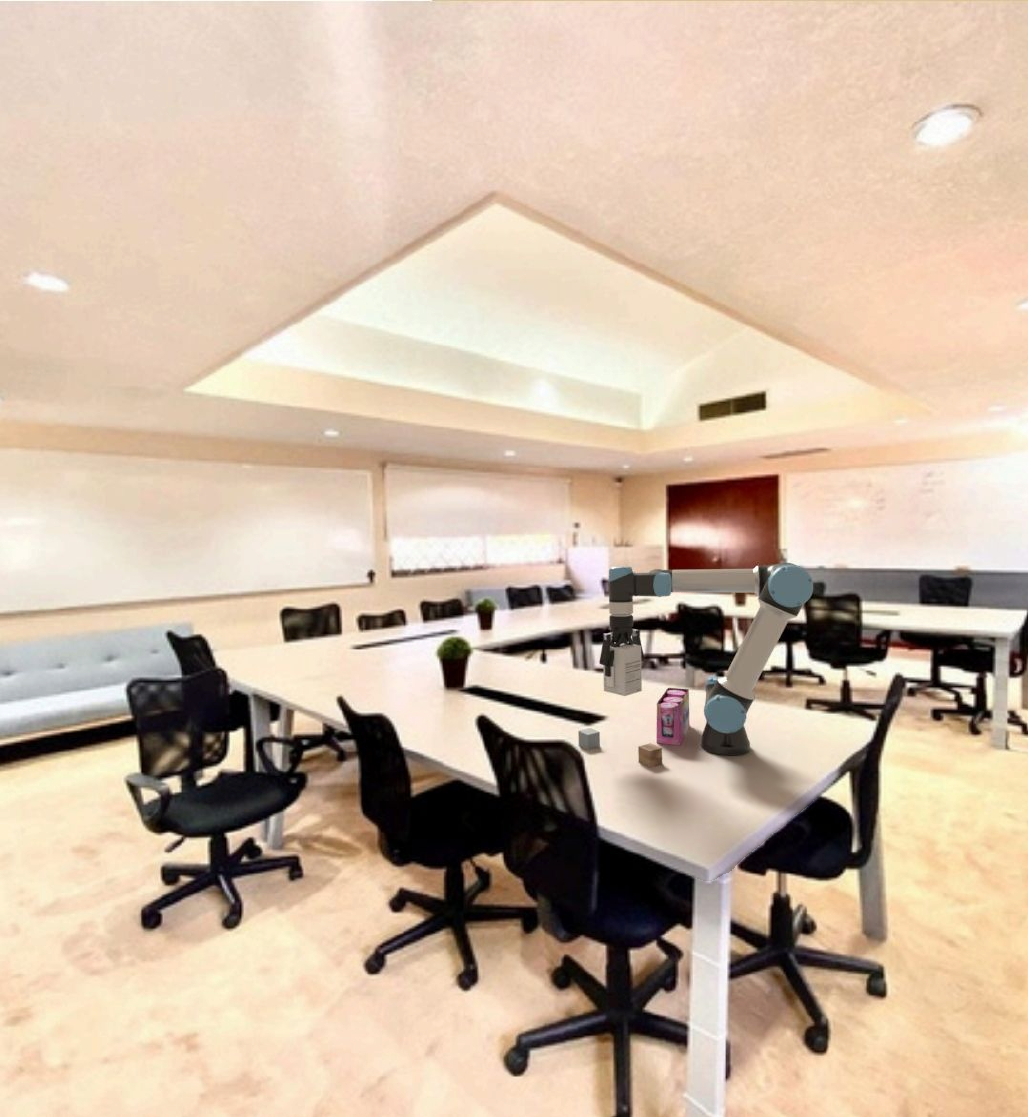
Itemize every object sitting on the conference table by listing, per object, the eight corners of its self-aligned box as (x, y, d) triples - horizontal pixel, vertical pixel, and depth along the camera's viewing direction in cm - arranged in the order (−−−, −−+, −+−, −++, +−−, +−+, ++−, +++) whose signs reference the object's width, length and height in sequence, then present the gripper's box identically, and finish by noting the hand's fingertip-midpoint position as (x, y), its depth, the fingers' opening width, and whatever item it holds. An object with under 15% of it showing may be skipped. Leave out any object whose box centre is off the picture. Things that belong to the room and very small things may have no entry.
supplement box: (602, 691, 193) (601, 645, 193) (620, 686, 199) (619, 641, 199) (624, 696, 186) (623, 649, 186) (642, 691, 192) (641, 645, 192)
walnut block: (650, 759, 188) (650, 743, 188) (662, 763, 184) (661, 747, 184) (638, 762, 186) (638, 746, 185) (650, 767, 181) (649, 751, 181)
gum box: (679, 747, 197) (678, 706, 197) (655, 744, 200) (654, 704, 200) (690, 725, 219) (689, 689, 218) (667, 723, 222) (667, 687, 222)
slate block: (590, 742, 204) (590, 728, 204) (599, 746, 200) (599, 732, 200) (578, 745, 202) (578, 730, 201) (588, 749, 197) (587, 734, 197)
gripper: (638, 610, 201) (640, 676, 202) (586, 616, 189) (588, 686, 190) (654, 612, 194) (656, 681, 195) (601, 619, 183) (603, 691, 184)
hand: (622, 683), depth 193 cm, fingers closed on supplement box, 9 cm apart
